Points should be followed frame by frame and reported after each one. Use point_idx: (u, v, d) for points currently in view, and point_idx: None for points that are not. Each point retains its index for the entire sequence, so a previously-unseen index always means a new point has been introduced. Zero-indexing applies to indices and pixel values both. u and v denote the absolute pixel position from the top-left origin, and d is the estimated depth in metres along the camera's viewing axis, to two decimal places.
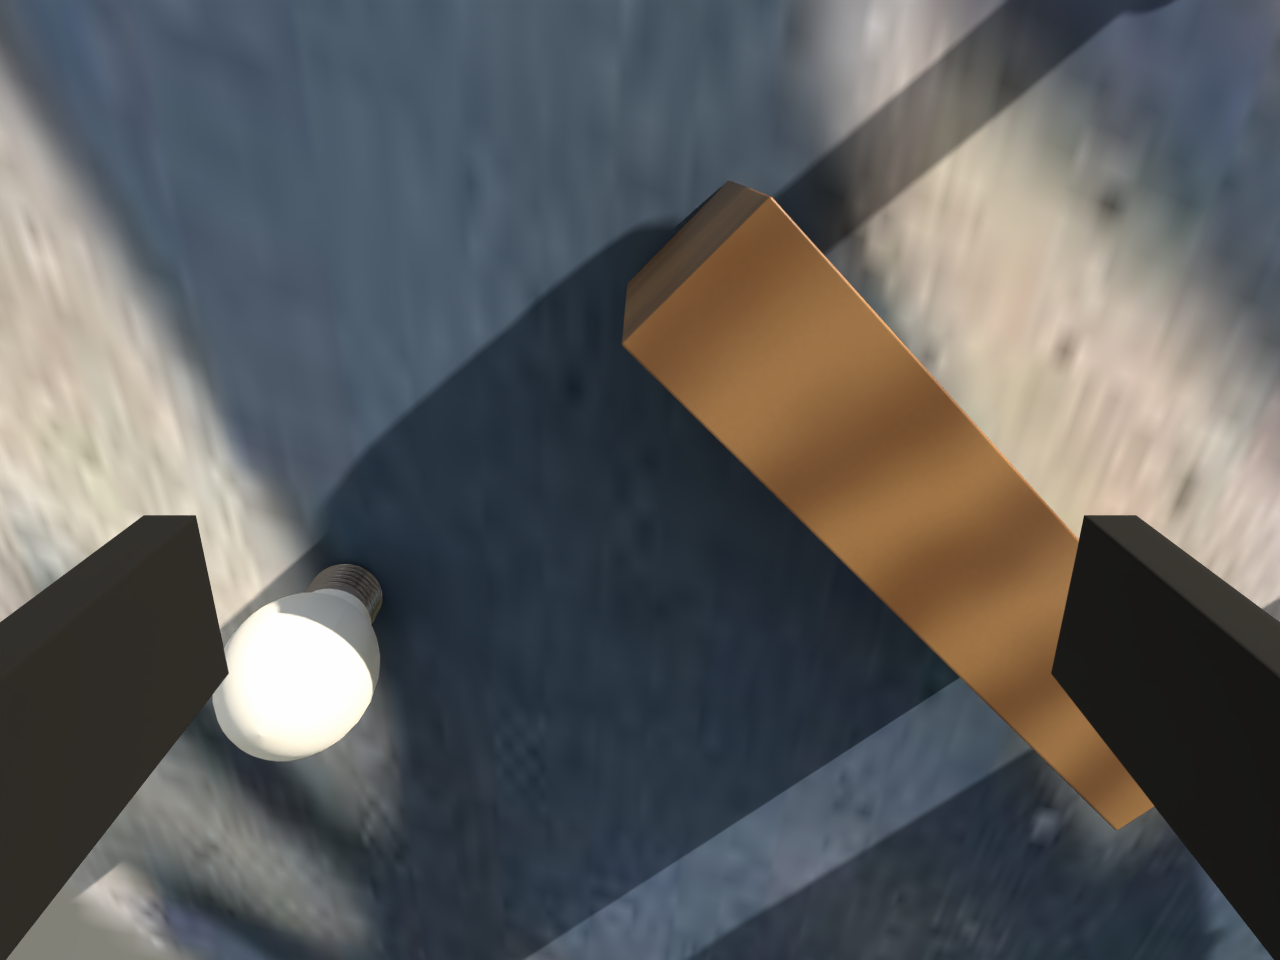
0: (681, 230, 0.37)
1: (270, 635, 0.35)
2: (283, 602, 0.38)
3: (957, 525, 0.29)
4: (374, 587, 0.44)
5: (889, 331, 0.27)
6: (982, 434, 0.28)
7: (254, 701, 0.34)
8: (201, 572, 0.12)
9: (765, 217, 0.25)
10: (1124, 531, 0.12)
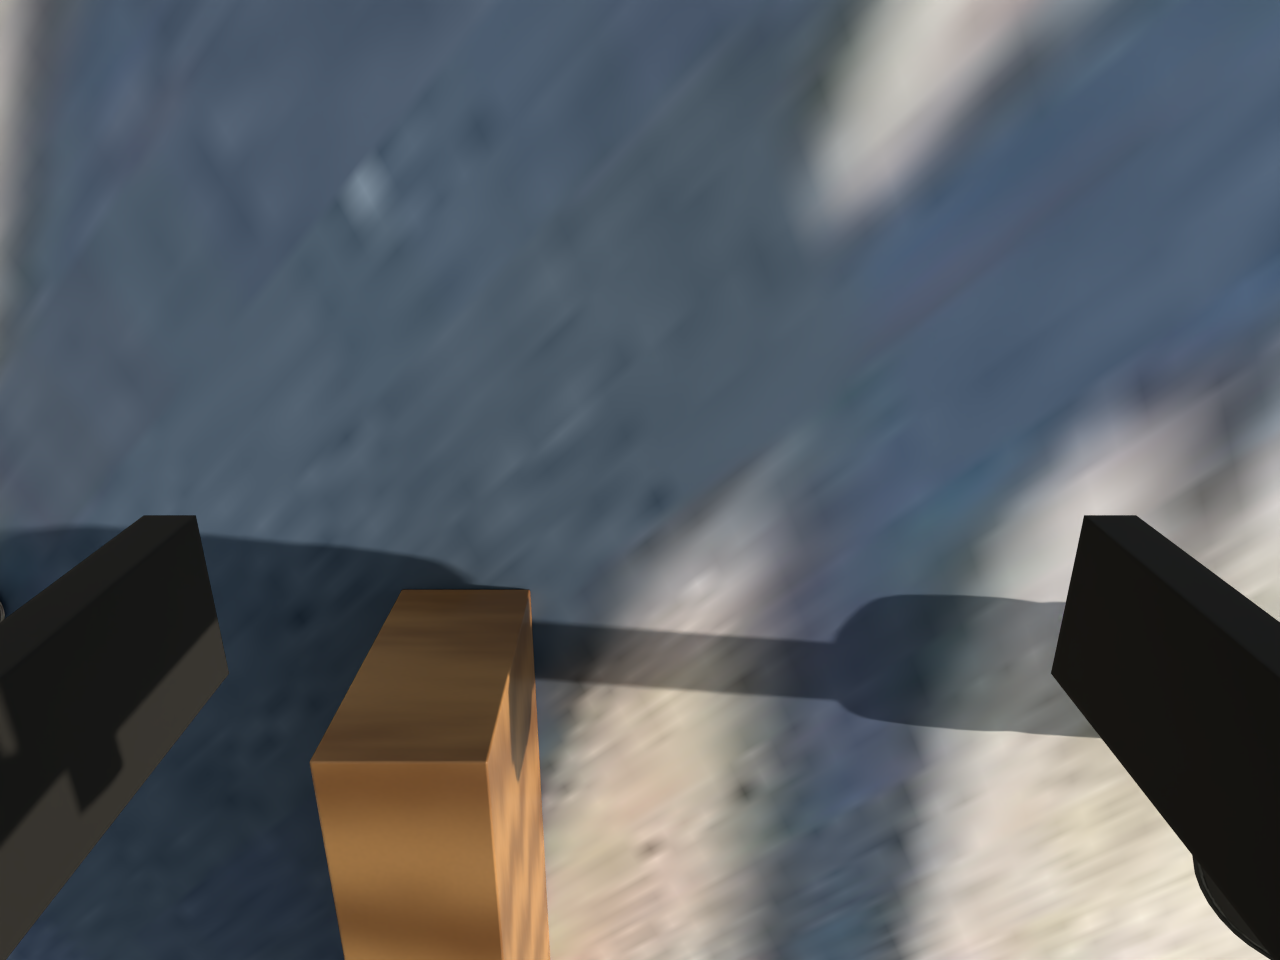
0: (467, 597, 0.41)
1: None
2: None
3: None
4: None
5: (495, 883, 0.32)
6: None
7: None
8: (201, 572, 0.12)
9: (472, 770, 0.30)
10: (1124, 531, 0.12)
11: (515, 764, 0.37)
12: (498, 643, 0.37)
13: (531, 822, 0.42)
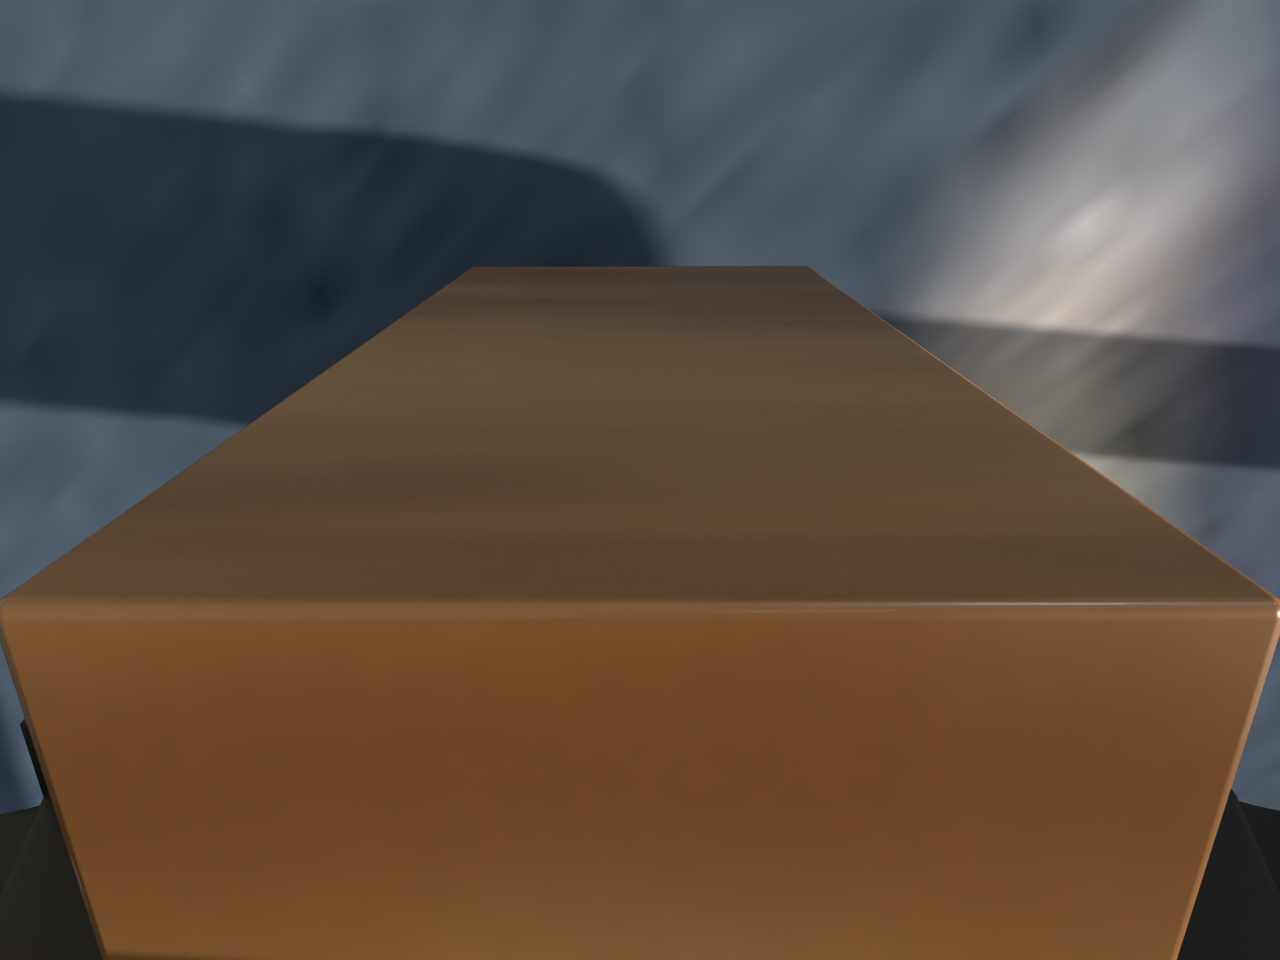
0: (654, 271, 0.15)
1: None
2: None
3: None
4: None
5: None
6: None
7: None
8: None
9: (1170, 667, 0.04)
10: None
11: None
12: (818, 313, 0.11)
13: None
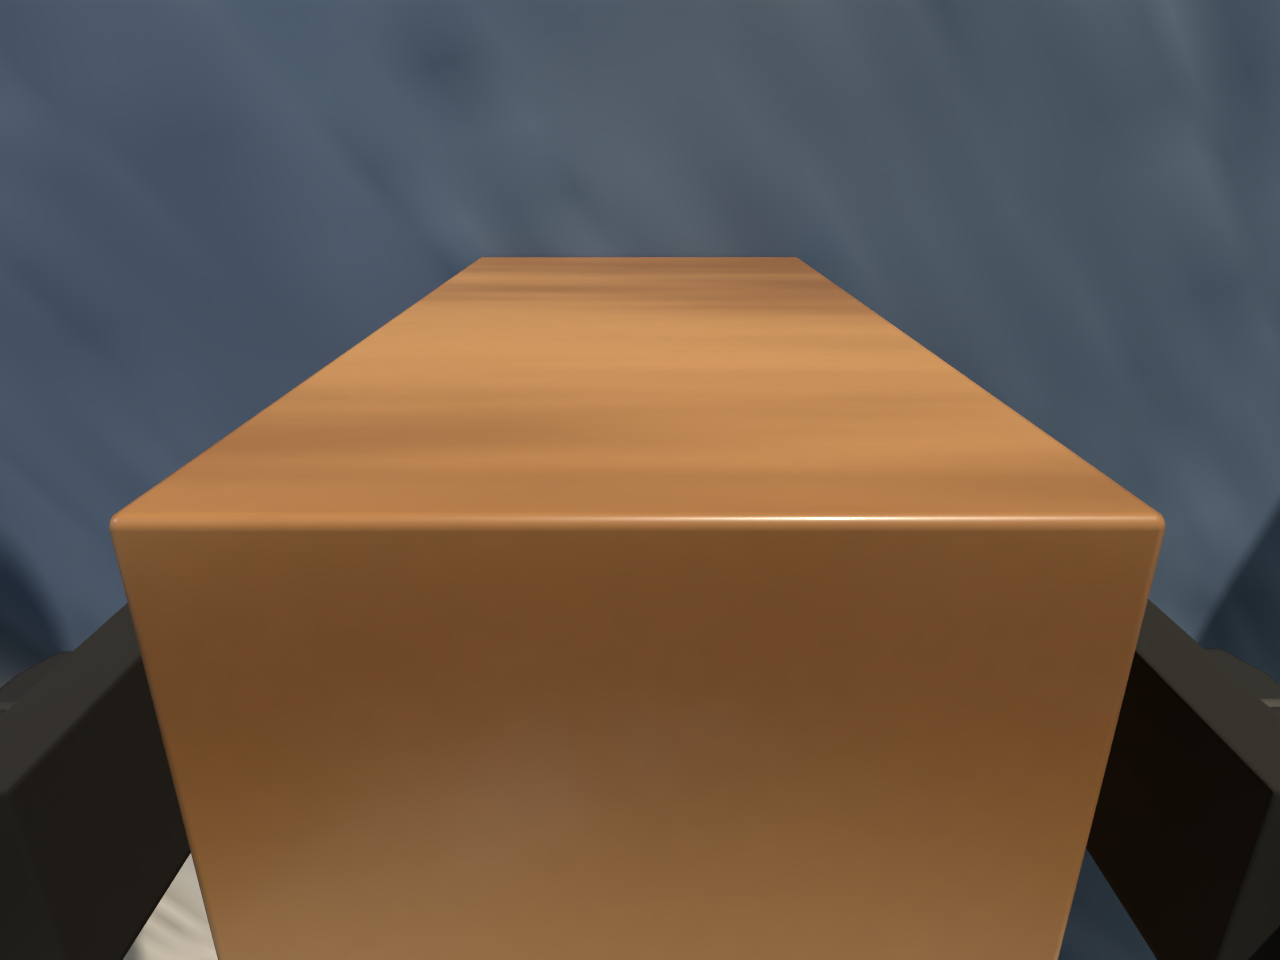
0: (652, 261, 0.16)
1: None
2: None
3: None
4: None
5: None
6: None
7: None
8: None
9: (1073, 570, 0.05)
10: None
11: None
12: (804, 298, 0.12)
13: None
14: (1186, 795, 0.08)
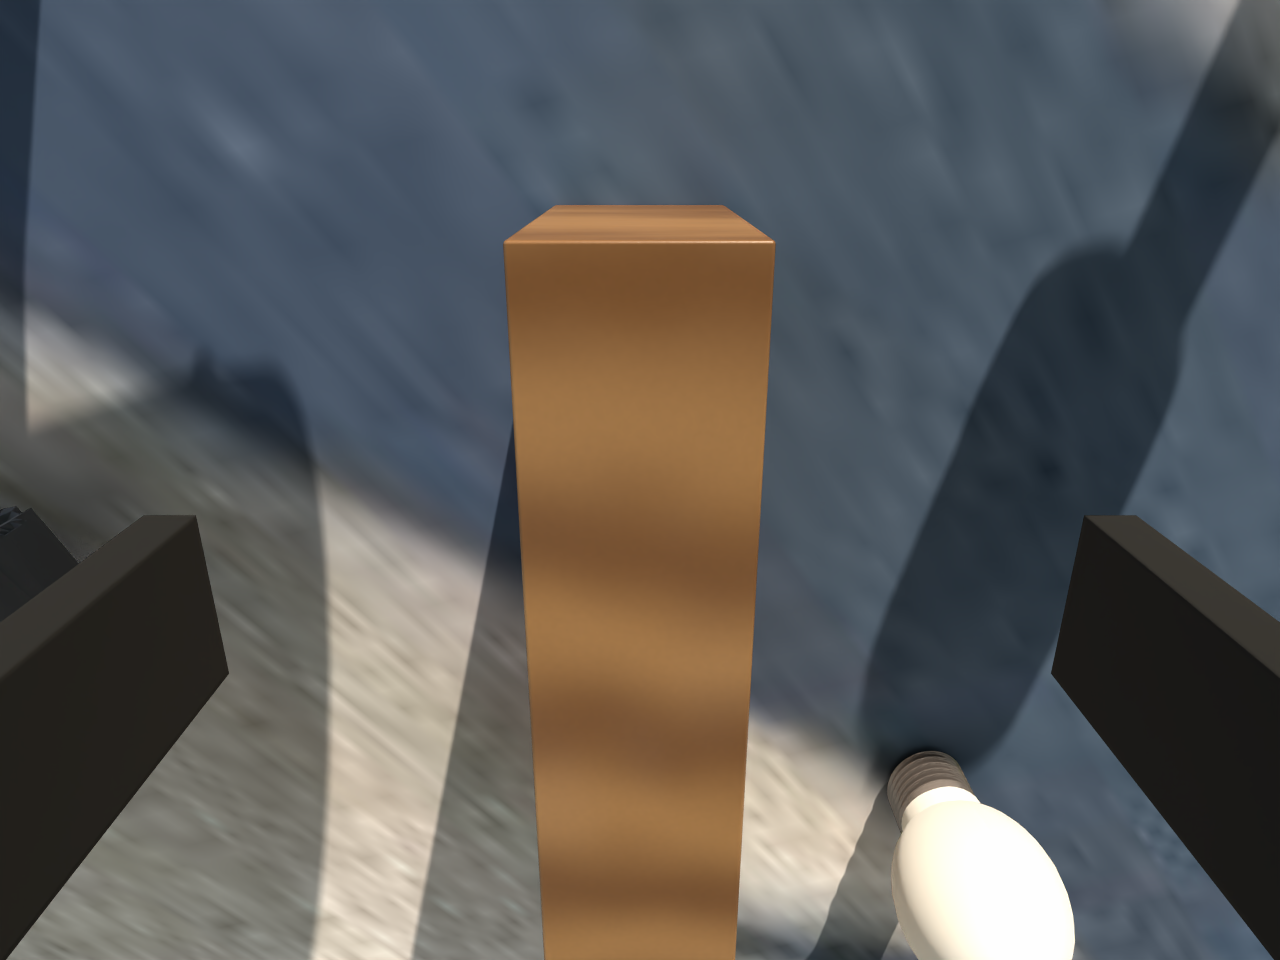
0: (646, 206, 0.31)
1: (954, 890, 0.32)
2: (923, 843, 0.35)
3: (657, 694, 0.24)
4: (951, 763, 0.40)
5: (760, 469, 0.22)
6: (752, 632, 0.24)
7: None
8: (202, 572, 0.12)
9: (752, 256, 0.20)
10: (1124, 531, 0.12)
11: None
12: (714, 215, 0.27)
13: None
14: None
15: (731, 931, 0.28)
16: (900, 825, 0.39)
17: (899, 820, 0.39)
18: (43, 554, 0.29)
